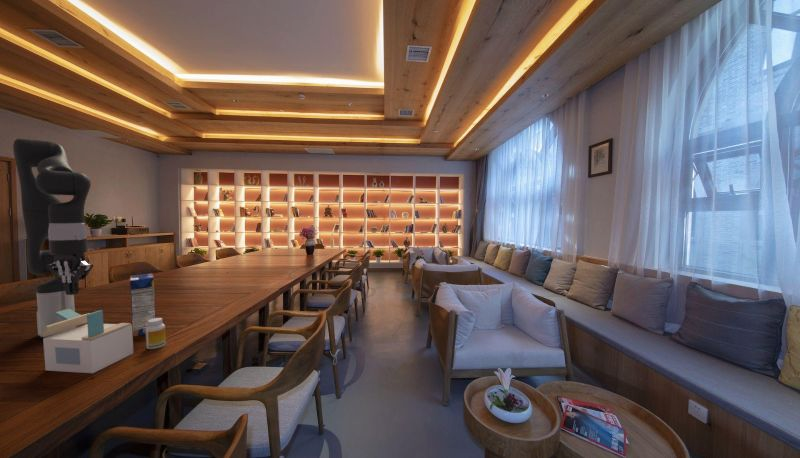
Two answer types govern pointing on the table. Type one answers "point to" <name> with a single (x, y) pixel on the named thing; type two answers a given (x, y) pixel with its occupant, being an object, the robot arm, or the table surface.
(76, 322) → the flap
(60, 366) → the carton
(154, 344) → the supplement bottle
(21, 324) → the table surface
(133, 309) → the beverage box
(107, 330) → the flap
